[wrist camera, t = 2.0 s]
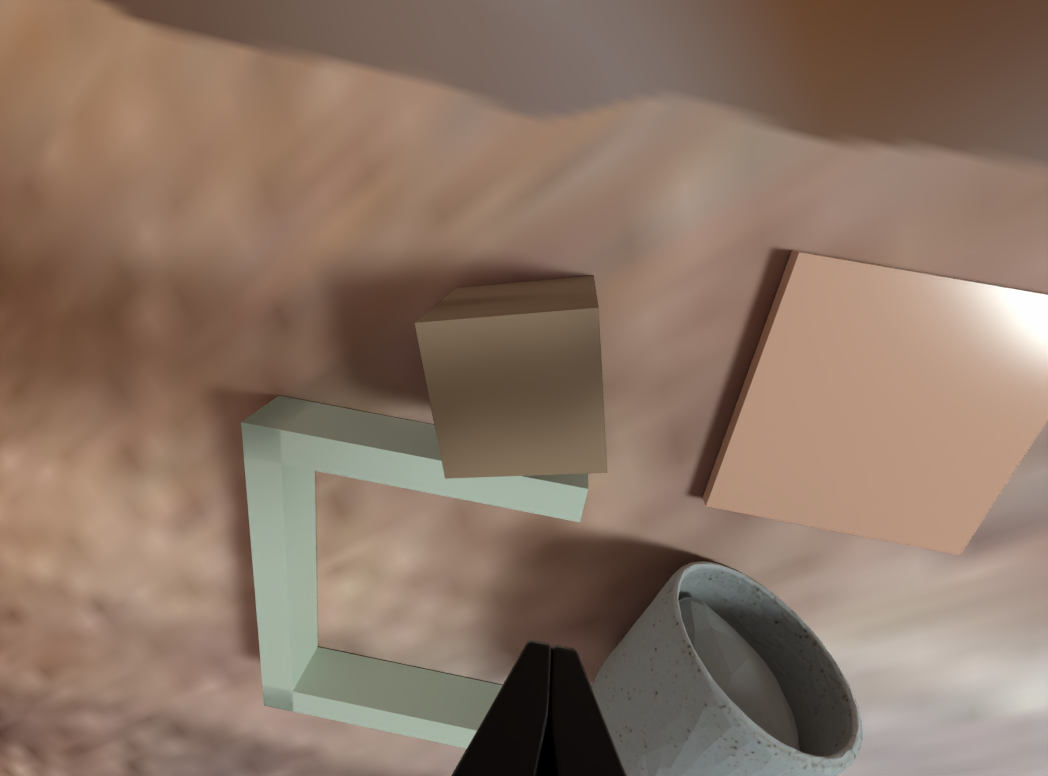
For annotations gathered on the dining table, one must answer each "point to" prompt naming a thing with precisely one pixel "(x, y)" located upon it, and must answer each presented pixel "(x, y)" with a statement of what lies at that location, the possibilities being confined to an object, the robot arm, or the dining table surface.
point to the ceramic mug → (725, 685)
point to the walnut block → (516, 378)
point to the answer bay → (290, 562)
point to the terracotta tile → (885, 403)
